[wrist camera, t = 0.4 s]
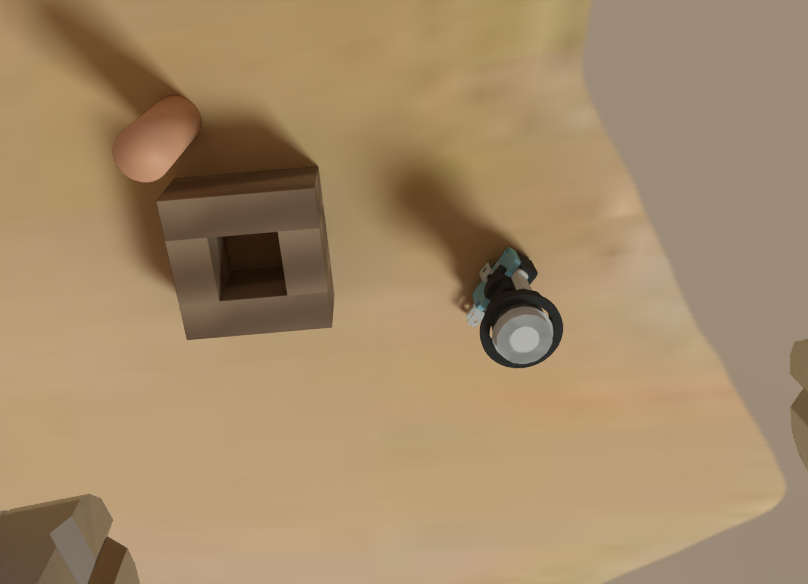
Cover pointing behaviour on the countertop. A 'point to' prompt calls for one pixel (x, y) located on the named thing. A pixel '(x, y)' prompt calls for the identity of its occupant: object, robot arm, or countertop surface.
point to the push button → (514, 313)
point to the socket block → (252, 289)
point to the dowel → (156, 139)
